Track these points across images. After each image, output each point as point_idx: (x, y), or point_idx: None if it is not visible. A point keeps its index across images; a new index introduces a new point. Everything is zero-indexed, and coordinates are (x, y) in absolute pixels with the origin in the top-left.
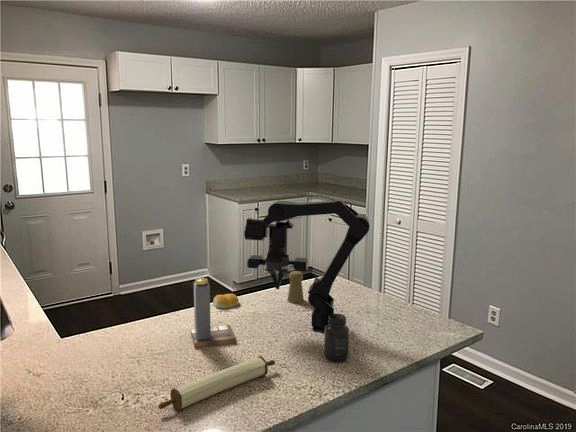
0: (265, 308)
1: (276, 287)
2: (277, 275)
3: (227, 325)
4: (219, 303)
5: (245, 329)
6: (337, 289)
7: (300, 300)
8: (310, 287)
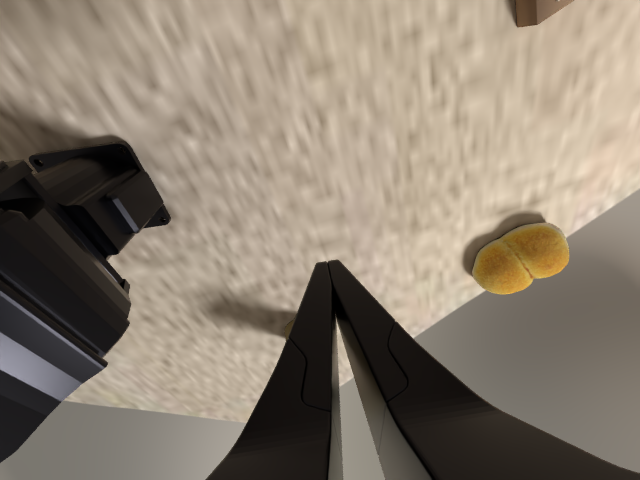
0: (381, 266)
1: (336, 267)
2: (362, 400)
3: (550, 4)
4: (550, 231)
5: (436, 51)
6: (233, 395)
7: (289, 330)
8: (41, 346)
